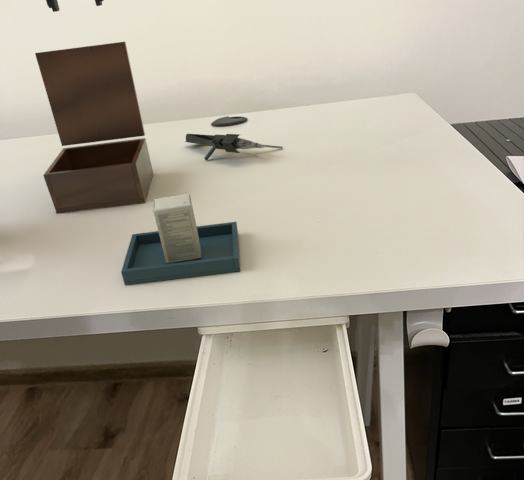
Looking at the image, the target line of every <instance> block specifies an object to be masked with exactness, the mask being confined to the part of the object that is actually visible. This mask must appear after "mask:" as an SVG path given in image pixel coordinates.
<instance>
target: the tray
mask: <svg viewBox="0 0 524 480" xmlns="http://www.w3.org/2000/svg"><path fill="white" fill-rule="evenodd" d="M196 226H197V231H198V236H199V242H200V247H201V255H202V257H201V258H197V259H192V260H185V261H180V262H173V263H166V260H165V256H164V252H163V248H162V244H161V240H160V236H159V232H158V230H156V231H148V232H140V233H133V234H132V235H131V238H130V242H129V244H128V248H127V252H126V254H125V258H124V261H123V265H122V268H121V271H120V273H121V277H122V280H123V283H124V285H125V286H128V285H129V286H131V285H136V284H137V285H138V284H145V283H146V284H147V283H153V282H154V283H155V282H162V281H171V280H179V279H186V278H187V279H188V278H194V277H196V278H197V277H203V276H212V275H220V274H229V273H239V272H241V259H240V242H239V231H238V222H237V221H230V222H220V223H215V224H205V225H196Z"/></svg>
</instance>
